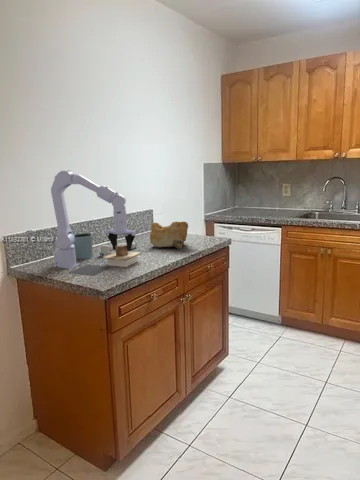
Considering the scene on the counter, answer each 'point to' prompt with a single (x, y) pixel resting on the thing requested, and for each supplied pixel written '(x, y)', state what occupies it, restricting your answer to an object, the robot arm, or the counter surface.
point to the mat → (90, 270)
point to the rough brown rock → (169, 235)
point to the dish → (122, 262)
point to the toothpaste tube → (108, 248)
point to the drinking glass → (83, 245)
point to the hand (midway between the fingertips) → (122, 249)
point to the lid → (121, 253)
